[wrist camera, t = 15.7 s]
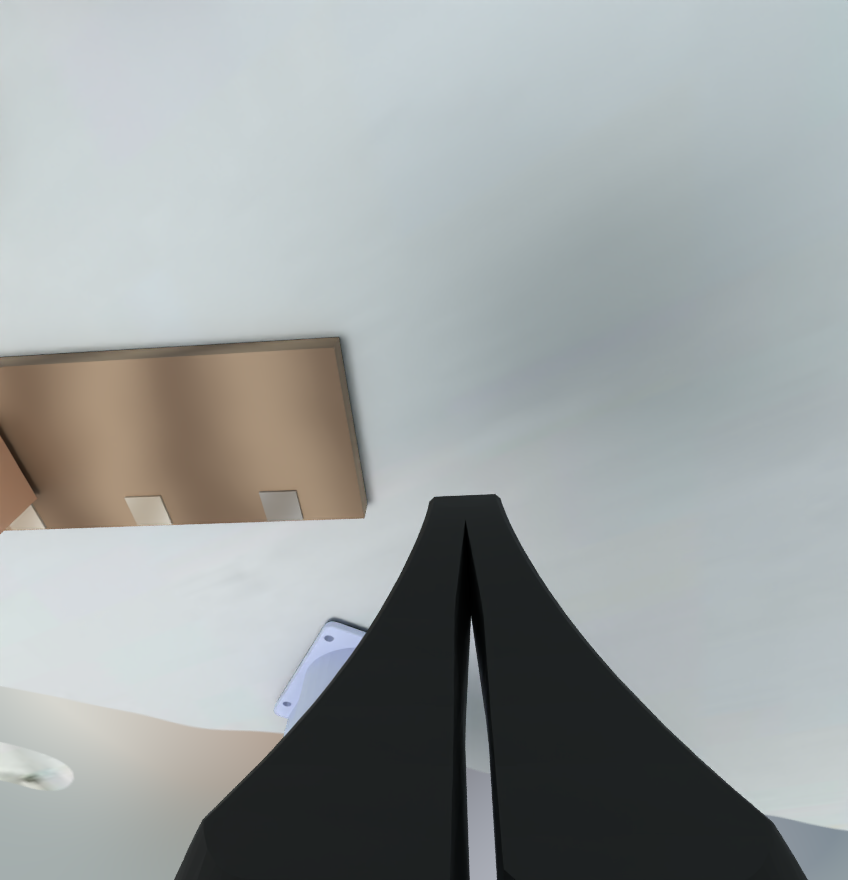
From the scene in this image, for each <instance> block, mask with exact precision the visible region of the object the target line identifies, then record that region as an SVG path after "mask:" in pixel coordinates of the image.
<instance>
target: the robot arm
mask: <svg viewBox="0 0 848 880" xmlns="http://www.w3.org/2000/svg"><path fill="white" fill-rule="evenodd" d="M471 618H472V625H473V632H474V639H475V646H476V653H477V660H478V667H479V674H480V680H481V687H482V694H483V701H484V708H485V715H486V722H487V732H488V741H489V754H490V770H491V784H492V785H491V786H492V801H493V802H492V803H493V819H494V837H495V853H496V869H497V880H808V879H807V878H806V876H805V874H804V873H803V871H802V869H801V867H800V866H799V864H798V862H797V860H796V859H795V857H794V855H793V854H792V852H791V850H790V849H789V847H788V846H787V844H786V842H785V841H784V839H783V838H782V836H781V834H780V833H779V831H778V830H777V828H776V826H775V825H774V823H773V822H772V821H771V820H769V819H768V818H767V817H766V816H765V815H764V814H762V813H761V812H760V811H759V810H758V809H757V808H755V807H754V806H753V805H752V804H751V803H750V802H748V801H747V800H746V799H745V798H744V797H743V796H741V795H740V794H739V793H738V792H737V791H735V790H734V789H733V788H732V787H731V786H730V785H729V784H727V783H726V782H725V781H724V780H723V779H722V778H721V777H720V776H718V775H717V774H716V773H715V772H714V771H713V770H712V769H711V768H710V767H708V766H707V765H706V764H705V763H704V762H703V761H702V760H701V759H699V758H698V757H697V756H696V755H695V754H694V753H693V752H692V751H691V750H690V749H689V748H688V747H687V746H686V745H685V744H684V743H683V742H681V741H680V740H679V739H678V738H677V737H676V736H675V735H674V734H673V733H672V732H671V731H670V730H669V729H668V728H667V727H666V726H665V725H664V724H663V723H662V722H661V721H660V720H659V719H658V718H657V717H656V716H655V715H654V714H653V713H652V712H651V711H650V710H649V709H648V708H647V707H646V706H645V705H644V704H643V703H642V702H641V701H640V700H639V699H638V698H637V696H636V695H635V694H634V693H633V692H632V691H631V690H630V689H629V688H628V687H627V686H626V685H625V684H624V683H623V682H622V681H621V680H620V679H619V678H618V677H617V676H616V675H615V673H614V672H613V671H612V670H611V669H610V668H609V666H608V665H607V664H606V663H605V662H604V661H603V660H602V658H601V657H600V656H599V655H598V654H597V653H596V652H595V650H594V649H593V648H592V647H591V645H590V644H589V643H588V642H587V641H586V639H585V638H584V637H583V636H582V634H581V633H580V632H579V631H578V629H577V628H576V627H575V625H574V624H573V623H572V622H571V620H570V619H569V618H568V616H567V615H566V614H565V612H564V611H563V609H562V608H561V607H560V605H559V604H558V602H557V601H556V600H555V598H554V597H553V595H552V594H551V592H550V591H549V590H548V588H547V587H546V585H545V583H544V582H543V580H542V579H541V577H540V576H539V574H538V573H537V571H536V569H535V568H534V566H533V564H532V563H531V561H530V559H529V558H528V556H527V554H526V553H525V551H524V549H523V547H522V546H521V544H520V542H519V540H518V538H517V536H516V534H515V532H514V530H513V528H512V526H511V524H510V522H509V520H508V518H507V515H506V513H505V510H504V508H503V505H502V502H501V499H500V498H499V497H498V496H497V495H496V494H488V495H465V496H443V497H434V498H433V499H432V500H431V501H430V502H429V506H428V510H427V513H426V516H425V520H424V522H423V525H422V528H421V530H420V533H419V535H418V538H417V540H416V542H415V545H414V547H413V549H412V551H411V553H410V555H409V557H408V560H407V562H406V564H405V566H404V568H403V570H402V572H401V574H400V576H399V578H398V580H397V581H396V583H395V585H394V587H393V589H392V590H391V592H390V594H389V596H388V597H387V599H386V601H385V603H384V605H383V606H382V608H381V610H380V611H379V613H378V615H377V616H376V618H375V619H374V621H373V623H372V624H371V626H370V627H369V629H368V630H367V632H364V631H361V630H358V629H355V628H352V627H349V626H346V625H344V624H341V623H338V622H334V621H332V622H328V623H326V624H325V625H324V627H323V628H322V630H321V632H320V633H319V635H318V637H317V638H316V640H315V641H314V643H313V645H312V646H311V648H310V649H309V651H308V653H307V654H306V656H305V658H304V659H303V661H302V662H301V664H300V666H299V667H298V669H297V670H296V672H295V674H294V675H293V677H292V679H291V680H290V682H289V683H288V685H287V687H286V688H285V690H284V692H283V693H282V695H281V696H280V698H279V700H278V701H277V703H276V704H275V708H274V712H275V714H276V715H278V716H281V717H285V718H288V721H287V725H286V729H285V733H284V737H283V738H282V739H281V741H280V742H279V743H278V744H277V745H276V746H275V747H274V749H273V750H272V751H271V752H270V753H269V754H268V755H267V756H266V757H265V758H264V759H263V760H262V761H261V762H260V763H259V764H258V765H257V766H256V767H255V768H254V769H253V770H252V771H251V772H250V773H249V774H248V775H247V776H246V777H245V778H244V779H243V780H242V781H241V782H240V783H239V784H238V785H237V786H236V787H235V788H234V789H233V790H232V791H231V792H230V793H229V794H228V795H227V796H226V797H225V798H224V799H223V800H222V801H221V802H220V803H219V804H218V805H217V806H216V807H215V808H214V809H213V810H212V811H211V812H210V813H209V814H208V815H207V816H206V817H205V818H204V819H203V820H202V822H201V824H200V826H199V828H198V830H197V832H196V834H195V836H194V838H193V840H192V842H191V844H190V846H189V848H188V851H187V853H186V855H185V858H184V860H183V862H182V864H181V866H180V868H179V871H178V873H177V875H176V877H175V879H174V880H470V876H469V847H468V818H467V787H466V755H465V727H466V704H467V685H468V665H469V646H470V626H471Z"/></svg>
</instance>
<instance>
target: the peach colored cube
mask: <svg viewBox="0 0 848 880" xmlns="http://www.w3.org/2000/svg"><path fill="white" fill-rule="evenodd" d="M36 499H37V497H36V495H35V494H34V492H33V490H32V489H31V487H30V485H29V484H28V482H27V480H26V478H25V477H24V475H23V473H22V472H21V470H20V468H19V467H18V465H17V463H16V461H15V460H14V458H13V456H12V455H11V453H10V451H9V450H8V448H7V446H6V445H5V443H4V441H3V439H2V438H1V436H0V534H1V533H2V532H3V531H4V530H5V529H6V528H7V527H8V526H9V525H10V524H11V523H12V522H13V521H14V520H15V519H16V518H17V517H19V516H20V515H21V514H22V513H23V512H24V511H25V510H26V509H27V508H28V507H29V506H30V505H31V504H32V503H33V502H34V501H35V500H36Z"/></svg>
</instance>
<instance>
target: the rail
mask: <svg viewBox="0 0 848 880" xmlns="http://www.w3.org/2000/svg"><path fill="white" fill-rule="evenodd" d="M0 436H1V438H2V439H3V441H4V443H5V445H6V446H7V448H8V450H9V451H10V453H11V455H12V456H13V458H14V460H15V461H16V463H17V465H18V467H19V468H20V470H21V472H22V473H23V475H24V477H25V478H26V480H27V482H28V484H29V485H30V487H31V489H32V490H33V492H34V494H35V495H36V497H37V499H36V500H35V501H34V502H33V503H32V504H31V505H30V506H29V507H28V508H27V509H26V510H25V511H24V512H23V513H22V514H21V515H20V516H19V517H17V518H16V519H15V520H14V521H13V522H12V523H11V524H10V525H9V526H8V527H7V528H6V529H5V530H4V531H7V530H37V529H66V528H95V527H124V526H154V525H183V524H212V523H241V522H271V521H300V520H329V519H358V518H365V513H366V508H367V499H366V493H365V487H364V481H363V476H362V470H361V464H360V458H359V452H358V446H357V440H356V435H355V429H354V423H353V417H352V411H351V405H350V399H349V394H348V388H347V382H346V376H345V370H344V364H343V358H342V352H341V347H340V341H339V337H333V338H316V339H299V340H283V341H266V342H249V343H232V344H215V345H199V346H182V347H165V348H148V349H131V350H115V351H98V352H81V353H64V354H47V355H31V356H14V357H0Z"/></svg>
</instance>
